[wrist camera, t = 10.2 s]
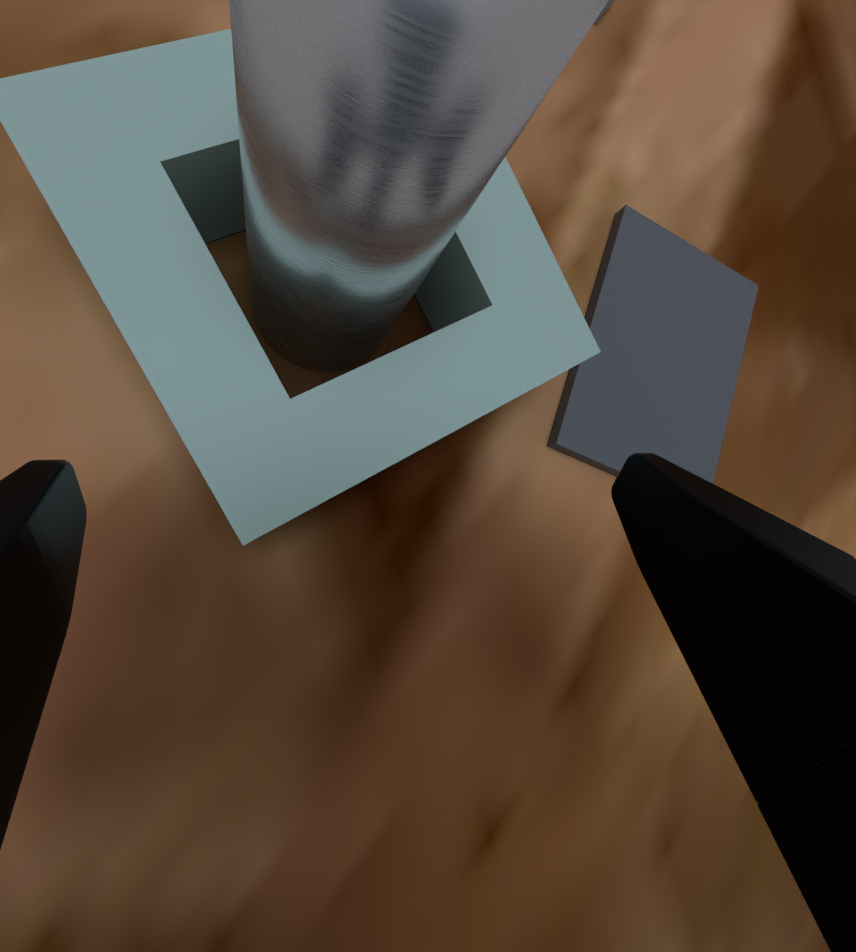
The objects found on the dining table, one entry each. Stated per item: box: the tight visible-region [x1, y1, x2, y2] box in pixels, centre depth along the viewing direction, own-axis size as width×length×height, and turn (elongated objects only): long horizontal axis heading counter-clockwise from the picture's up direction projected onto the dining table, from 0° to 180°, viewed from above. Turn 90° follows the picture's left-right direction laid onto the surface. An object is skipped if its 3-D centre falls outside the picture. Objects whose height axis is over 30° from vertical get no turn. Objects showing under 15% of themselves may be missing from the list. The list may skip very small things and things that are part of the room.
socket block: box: [0, 29, 601, 545], centre depth 15 cm, size 11×11×4 cm
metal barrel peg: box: [229, 0, 609, 372], centre depth 11 cm, size 4×4×12 cm
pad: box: [548, 205, 758, 484], centre depth 20 cm, size 10×7×1 cm
